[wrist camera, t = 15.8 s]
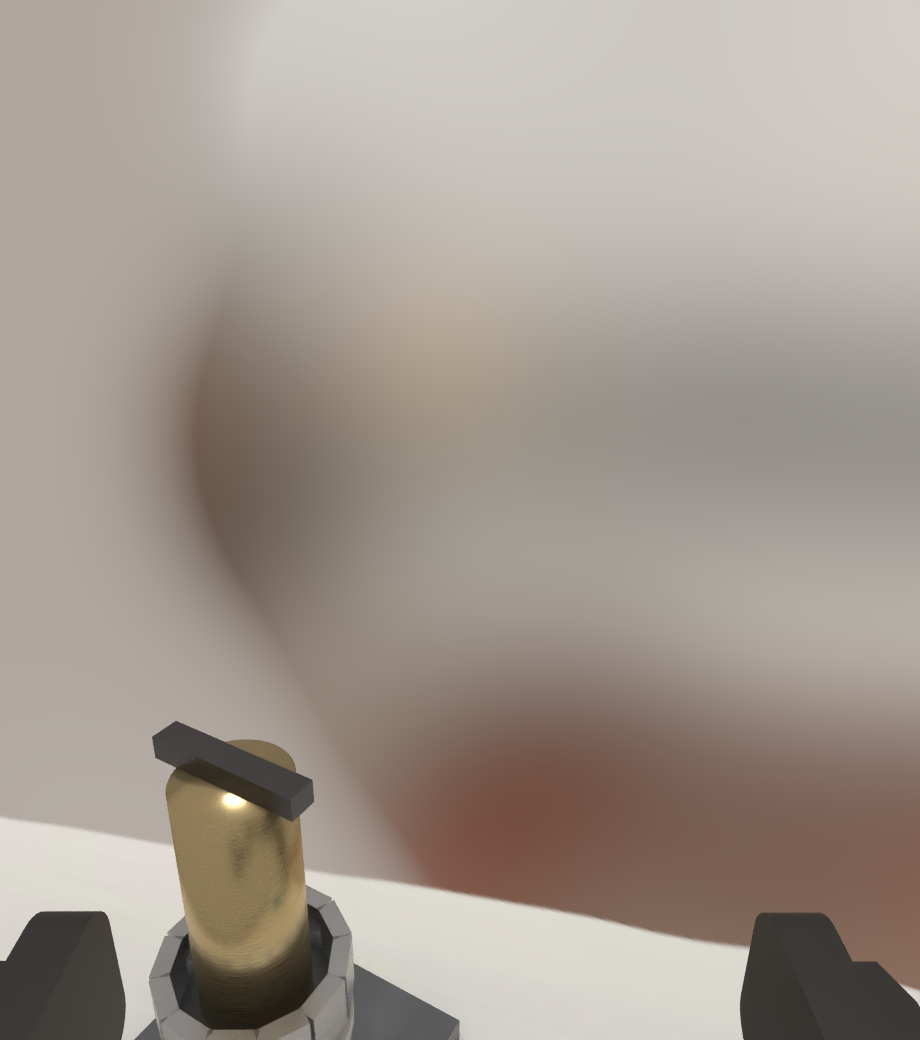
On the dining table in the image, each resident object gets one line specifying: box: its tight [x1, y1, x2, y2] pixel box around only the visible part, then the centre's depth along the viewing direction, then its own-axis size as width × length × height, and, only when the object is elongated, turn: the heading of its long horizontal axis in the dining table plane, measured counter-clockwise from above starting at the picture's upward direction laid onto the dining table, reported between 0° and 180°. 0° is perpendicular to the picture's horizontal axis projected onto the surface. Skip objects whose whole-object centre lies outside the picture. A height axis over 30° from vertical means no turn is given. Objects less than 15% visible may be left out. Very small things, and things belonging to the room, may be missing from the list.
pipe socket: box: [135, 885, 459, 1040], centre depth 36 cm, size 13×13×8 cm
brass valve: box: [152, 721, 314, 1030], centre depth 33 cm, size 5×7×13 cm
